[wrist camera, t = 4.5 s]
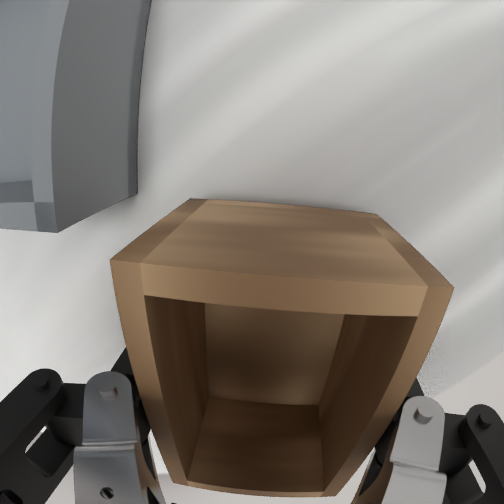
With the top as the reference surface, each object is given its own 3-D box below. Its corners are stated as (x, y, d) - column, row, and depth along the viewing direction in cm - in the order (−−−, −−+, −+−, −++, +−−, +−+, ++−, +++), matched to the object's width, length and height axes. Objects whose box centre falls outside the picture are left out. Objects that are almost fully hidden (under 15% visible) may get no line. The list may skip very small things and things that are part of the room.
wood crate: (376, 214, 9) (453, 287, 4) (327, 403, 12) (335, 495, 8) (190, 198, 9) (109, 259, 5) (199, 393, 13) (172, 482, 8)
